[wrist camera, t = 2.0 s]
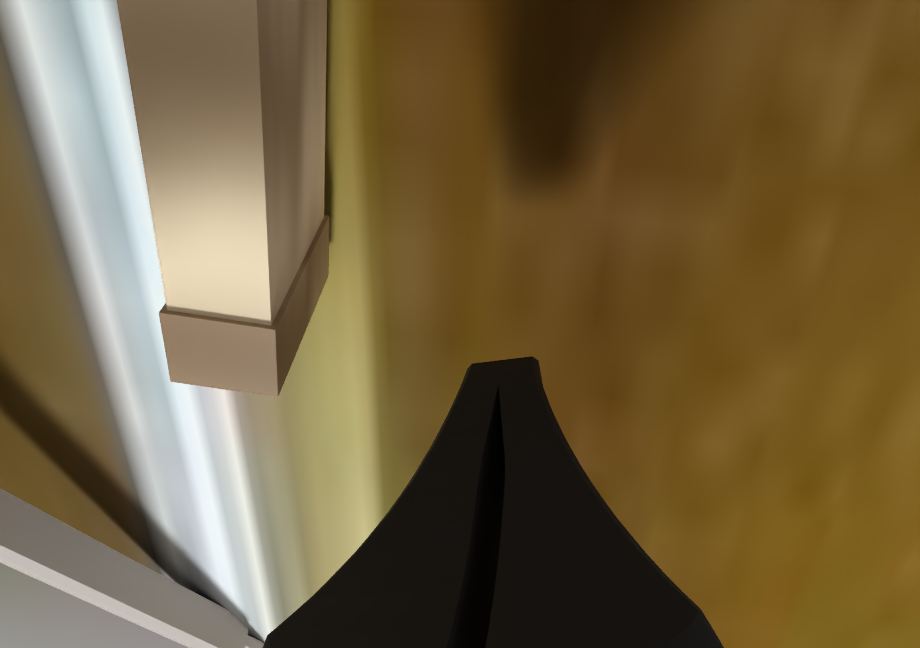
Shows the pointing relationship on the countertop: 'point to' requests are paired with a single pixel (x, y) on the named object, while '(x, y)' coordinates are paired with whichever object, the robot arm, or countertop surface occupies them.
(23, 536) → the caliper
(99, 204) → the countertop surface
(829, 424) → the countertop surface
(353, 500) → the countertop surface
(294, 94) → the gate
